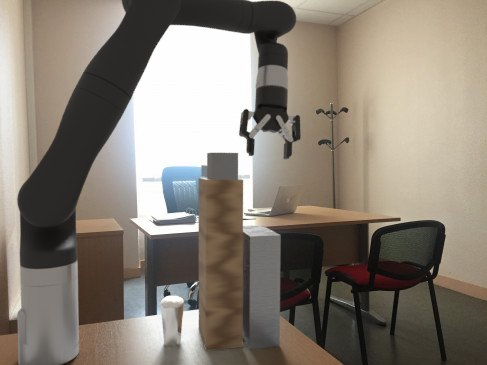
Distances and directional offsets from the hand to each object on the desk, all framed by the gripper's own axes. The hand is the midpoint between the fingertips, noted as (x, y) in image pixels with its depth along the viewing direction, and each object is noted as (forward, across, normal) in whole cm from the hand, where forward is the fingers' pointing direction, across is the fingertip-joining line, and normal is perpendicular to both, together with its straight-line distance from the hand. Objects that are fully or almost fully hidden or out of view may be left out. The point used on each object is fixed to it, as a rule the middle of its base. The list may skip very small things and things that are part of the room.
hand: (269, 157), depth 92 cm
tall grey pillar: (+38, -3, -6) cm, 39 cm away
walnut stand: (+38, -11, -6) cm, 40 cm away
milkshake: (+39, -20, -6) cm, 44 cm away
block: (+6, -13, -6) cm, 16 cm away
